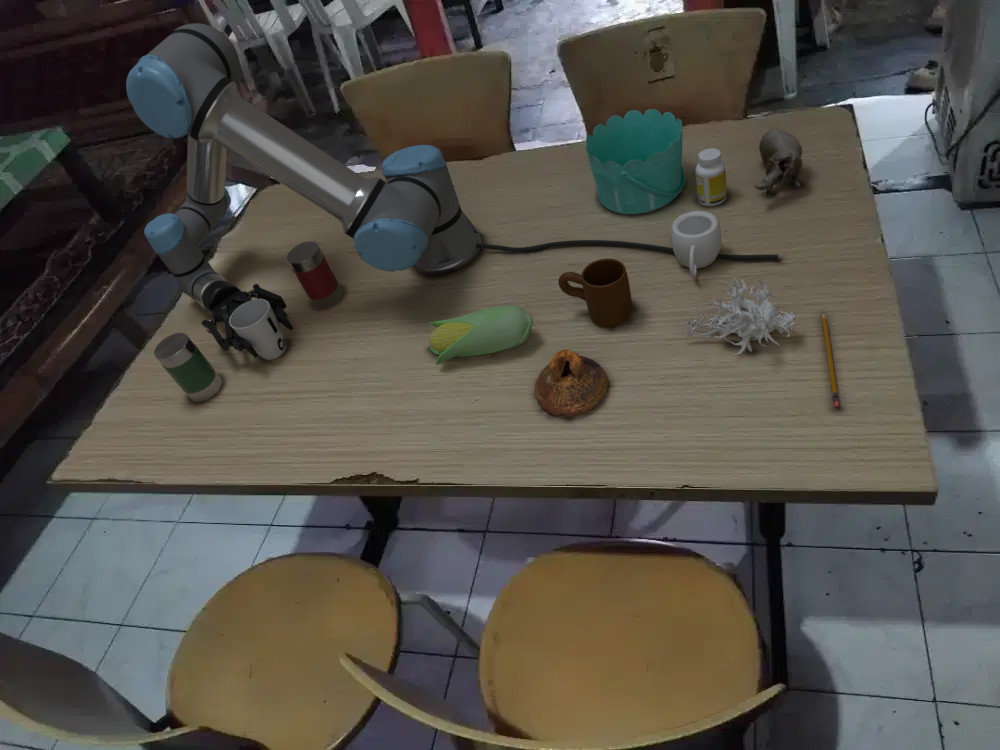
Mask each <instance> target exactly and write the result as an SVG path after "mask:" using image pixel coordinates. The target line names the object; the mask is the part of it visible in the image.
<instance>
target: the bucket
mask: <svg viewBox="0 0 1000 750" xmlns="http://www.w3.org/2000/svg"><path fill="white" fill-rule="evenodd" d="M683 131H684V129H683V121H682V119H681V118H678V117H677V118H676V116H674V114H673V113H672V112H670V111H666V112H664V113H663V114H661V112H660V111H659V110H658V109H656V108H648V109H647V110H646V111H645V112H644V114H643V113H642V112H641V111H639V110H637V109H632V110H629V111H627V112H626V113H625V114H624V117H622V116H620V115H616V114H615V115H614V114H613V115H611V116H610V117H609V118H608V120H607V121H606V123H605V125H604V124H601V123H599V124H597V125H596V126H595V127H594V128H593V131H592V134H587V136H586V137H585V146H584V148H585V151H586V155H587V158H588V162H589V165H590V170H591V172H592V177H593V180H594V183H595V188H596V191H597V194H598V198H599V202H600V204H601V205H602V206H603V207H604V208H606V209H607V210H609V211H611V212H614V213H618V214H622V215H638V214H639V215H640V214H646V213H649V212H652V211H655V210H658V209H660V208H662V207H664V206H667V205H668V204H670V203H671V202H672V201H674V199H676V198H677V197H678V195H679V194H680V192H681V191H682V190H683V189H684V187H685V184H686V174H685V169H684V165H683V135H684V134H683Z"/></svg>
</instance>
